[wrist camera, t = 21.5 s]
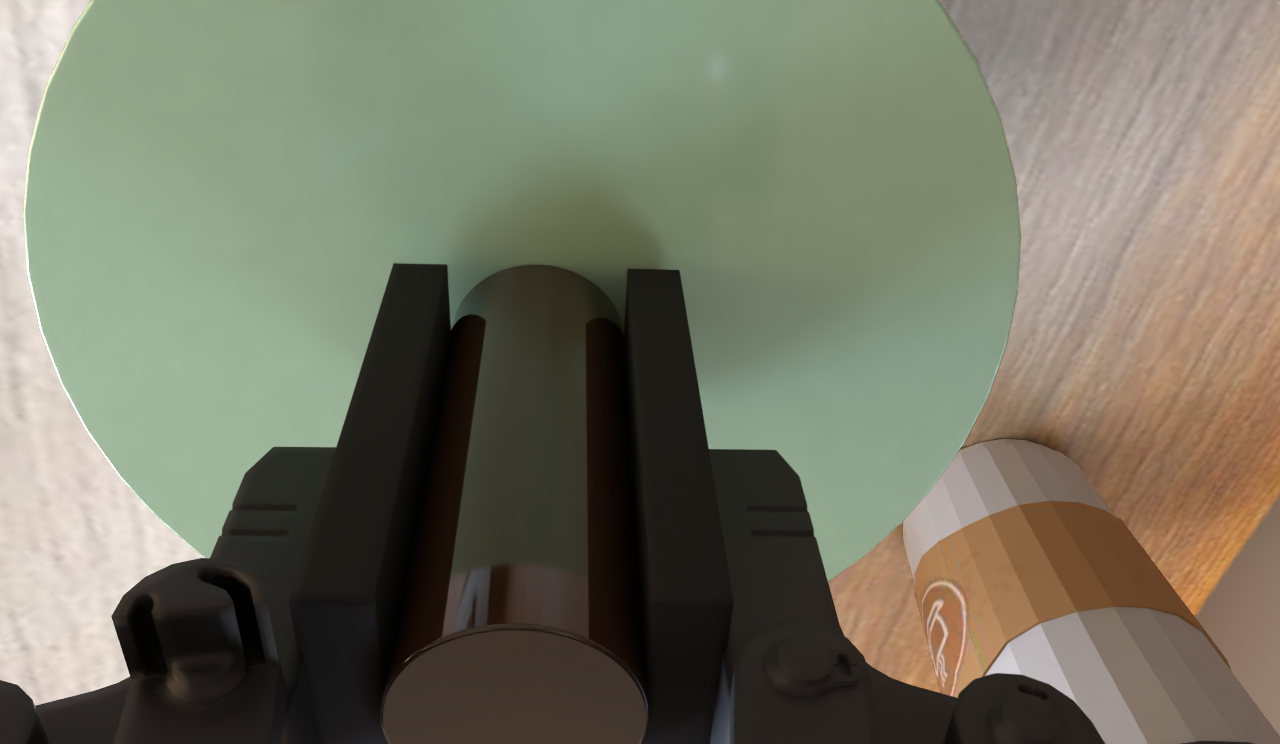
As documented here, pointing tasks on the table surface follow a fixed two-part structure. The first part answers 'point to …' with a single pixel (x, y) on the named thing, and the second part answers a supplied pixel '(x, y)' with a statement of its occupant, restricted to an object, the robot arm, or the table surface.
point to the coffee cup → (1065, 602)
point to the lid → (524, 283)
